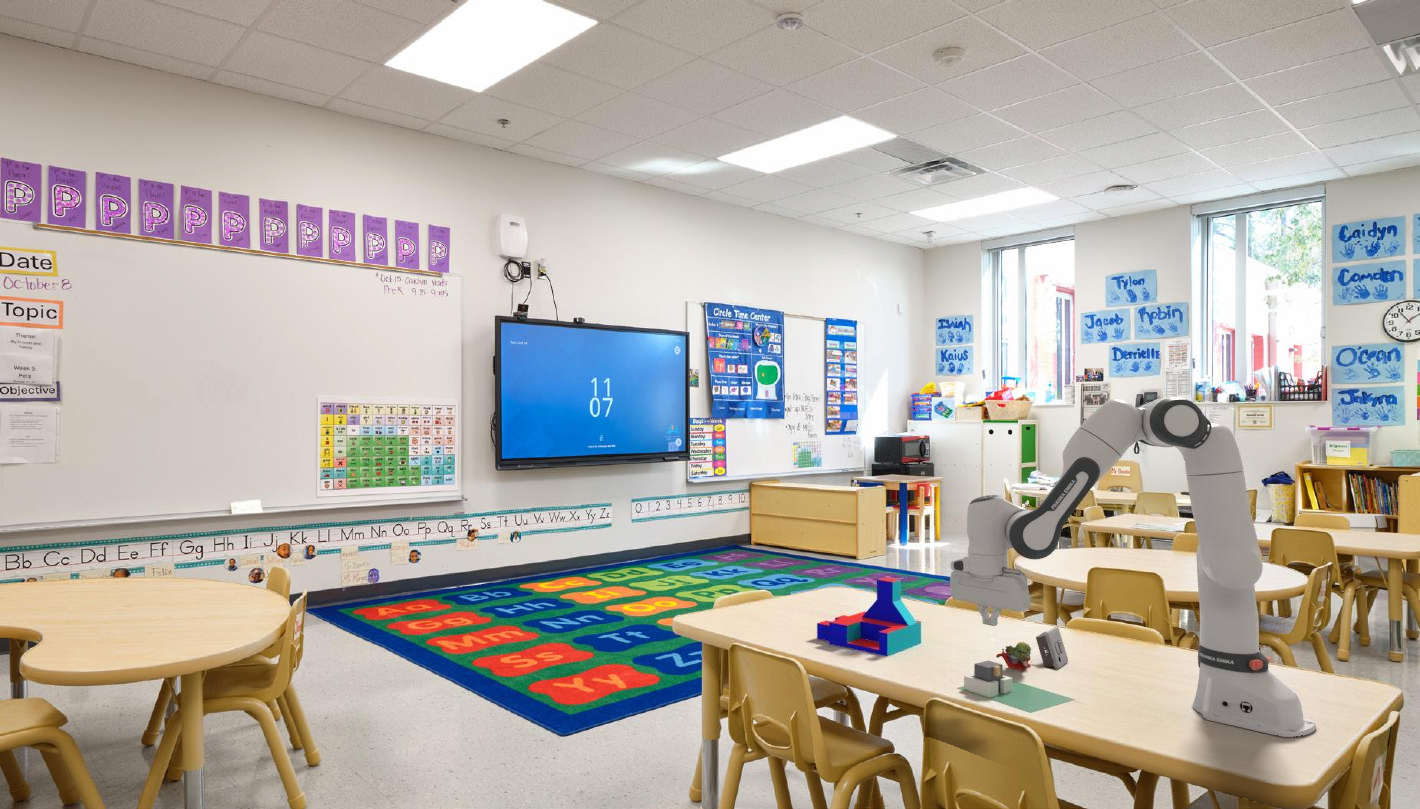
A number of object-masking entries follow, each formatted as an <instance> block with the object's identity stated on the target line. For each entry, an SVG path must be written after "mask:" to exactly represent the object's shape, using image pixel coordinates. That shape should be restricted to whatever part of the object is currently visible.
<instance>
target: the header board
mask: <svg viewBox="0 0 1420 809" xmlns="http://www.w3.org/2000/svg"><path fill="white" fill-rule="evenodd" d="M957 689H958V690H961V691H964V692H967V693H970V694H973V695H976V696H978V697H981V698H986V699H988V700H991V701H994V702H997V703H999V704H1004V705H1007V706H1009V707H1012V708H1015V709H1018V710H1020V711H1024V712H1027V713H1031V714H1032V713H1036V712H1038V711H1041V710H1045V709H1049V708H1051V707H1055V706H1059V705H1062V704H1065V703H1069V702H1072V701H1075V700H1076V699H1075V698H1072V697H1069V696H1065V695H1062V694H1058V693H1055V692H1052V691H1048V690H1045V689H1043V688H1039V687H1036V686H1032V685H1029V684H1026V683H1022V682H1020V681H1019V682H1018V681H1016V680H1013V677H1010V676H1007V675H1004V674H1003V679H1000V691H999V692H998V682H997V681H991V682H987V681H983V680H980V679H977V678H974V673H970V674H966V675H964V676H963V686H959V687H957Z"/></svg>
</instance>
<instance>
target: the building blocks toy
mask: <svg viewBox="0 0 1420 809" xmlns="http://www.w3.org/2000/svg"><path fill="white" fill-rule="evenodd" d="M816 639H817V640H819V641H820V640H821V641H826V642H828V644H829V645H833V646H836V647H843V648H847V649H851V650H856V651H860V652H865V653H870V654H874V655H877V656H883V657H889V656H893V655H895V654H897V653H900V652H902V651H905V650H908V649H911V648H912V647H915V646H917V645H920V644H922V620H921V621H919V620H916V619H915V618H914V616H913V615H912V614H911V612H910V611H909V609H908V607H907V606H906V605H905V603H904V602H903V601H902V580H901V579H898V578H892V577H891V578H890V577H883V578H879V579H876V600H875V601H874V603H873V604H872V605H870V607H869V608H868V609H867V610H866V611H861V612H858V613H855V614H851V615H847V614H846V615H844V614H842V615H840V616H836V617H834V620H832V621H830V620H822V621H820V622H816Z"/></svg>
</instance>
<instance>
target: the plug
mask: <svg viewBox="0 0 1420 809" xmlns="http://www.w3.org/2000/svg"><path fill="white" fill-rule="evenodd" d="M973 666H974V667H973V668H974V670H973V672H974V673H973V674H974V678H977V679H980V680H983V681H987V682H991V681H997V682H998V692H999V691H1000V679H1003V675H1004V674H1003V673H1004V672H1003V671H1004V670H1003V668H1004V667H1003V666H1004V665H1003V664H1002V663H999V662H994V661H991V660H985V661H981V662H976V663H974V664H973Z"/></svg>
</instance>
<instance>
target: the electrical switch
mask: <svg viewBox="0 0 1420 809" xmlns="http://www.w3.org/2000/svg"><path fill="white" fill-rule="evenodd" d="M1035 639H1036V643H1037V646H1038V650H1039V653H1040V657H1041V661H1042V664H1043V667H1045V668H1047V667H1053V668H1054V669H1055V670H1059V669H1061V667H1063V666H1064V665H1065V664H1067V663H1068V662H1069V659H1068V654H1067V650H1066V648H1065V644H1064V641H1063V638H1062V635H1061V632H1060V628H1059V626H1056V627H1053V628H1052V629H1049V630H1048V631H1043V632H1042V633H1040V634H1039V635H1037V636H1035Z"/></svg>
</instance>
